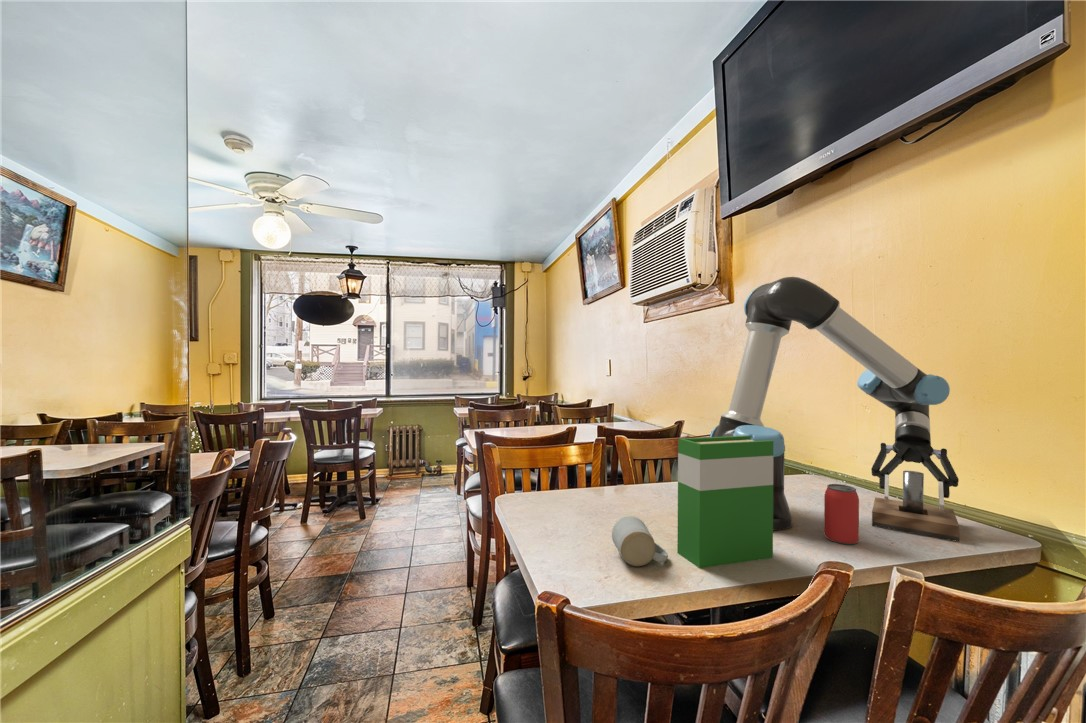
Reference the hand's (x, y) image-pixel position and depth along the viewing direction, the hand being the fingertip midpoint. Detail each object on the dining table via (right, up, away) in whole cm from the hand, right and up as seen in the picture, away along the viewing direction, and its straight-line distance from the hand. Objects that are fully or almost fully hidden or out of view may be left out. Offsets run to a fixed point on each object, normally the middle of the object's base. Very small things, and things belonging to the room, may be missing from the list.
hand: (913, 503), depth 112 cm
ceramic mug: (-72, -5, -20) cm, 74 cm away
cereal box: (-54, -5, -17) cm, 57 cm away
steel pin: (+2, -5, +2) cm, 6 cm away
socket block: (+2, -6, +2) cm, 7 cm away
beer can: (-23, -6, -8) cm, 25 cm away
